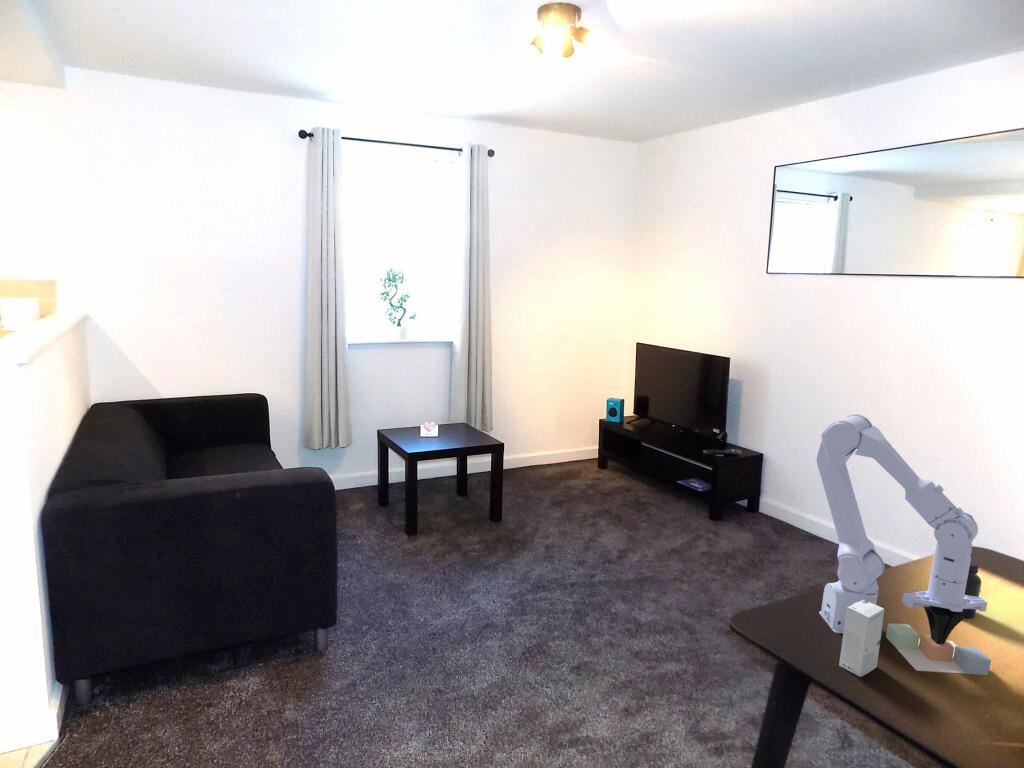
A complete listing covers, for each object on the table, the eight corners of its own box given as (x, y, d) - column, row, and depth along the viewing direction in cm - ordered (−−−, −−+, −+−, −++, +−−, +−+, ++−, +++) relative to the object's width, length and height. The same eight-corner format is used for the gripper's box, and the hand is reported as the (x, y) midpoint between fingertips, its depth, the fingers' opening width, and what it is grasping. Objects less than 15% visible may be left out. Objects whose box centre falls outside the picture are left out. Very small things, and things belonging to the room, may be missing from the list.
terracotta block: (930, 660, 125) (932, 646, 125) (918, 648, 129) (920, 634, 129) (951, 661, 125) (954, 647, 124) (939, 649, 129) (941, 635, 128)
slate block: (966, 673, 122) (968, 658, 121) (952, 660, 126) (955, 646, 125) (988, 674, 121) (991, 659, 121) (974, 661, 125) (976, 647, 125)
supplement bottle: (981, 622, 140) (991, 570, 138) (945, 618, 142) (955, 566, 139) (966, 606, 147) (975, 556, 145) (932, 602, 148) (941, 552, 146)
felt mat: (916, 672, 122) (916, 670, 122) (885, 638, 133) (886, 636, 133) (987, 676, 122) (988, 674, 121) (951, 642, 132) (951, 640, 132)
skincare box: (860, 679, 119) (870, 618, 117) (837, 666, 123) (845, 607, 121) (877, 668, 123) (887, 609, 121) (854, 656, 126) (862, 598, 124)
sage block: (896, 648, 129) (898, 634, 128) (886, 636, 133) (888, 623, 132) (917, 649, 129) (919, 635, 128) (906, 637, 133) (908, 624, 132)
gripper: (921, 584, 120) (910, 651, 123) (1002, 588, 120) (989, 656, 122) (900, 566, 127) (890, 630, 130) (977, 570, 127) (965, 634, 129)
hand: (937, 641), depth 127 cm, fingers closed, pressing on terracotta block
